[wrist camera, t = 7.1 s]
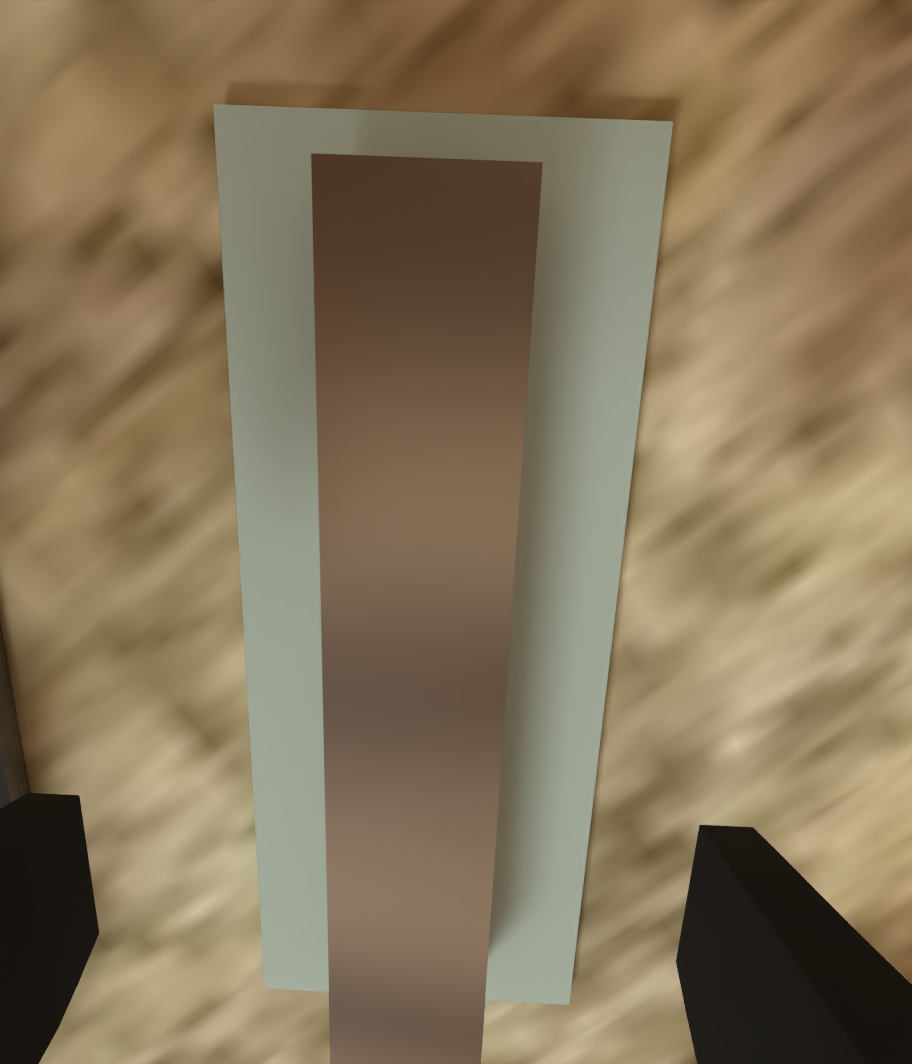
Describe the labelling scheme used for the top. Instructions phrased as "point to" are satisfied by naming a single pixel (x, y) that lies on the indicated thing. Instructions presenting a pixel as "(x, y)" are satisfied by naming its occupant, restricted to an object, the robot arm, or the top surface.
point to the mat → (544, 507)
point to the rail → (416, 578)
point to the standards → (9, 741)
